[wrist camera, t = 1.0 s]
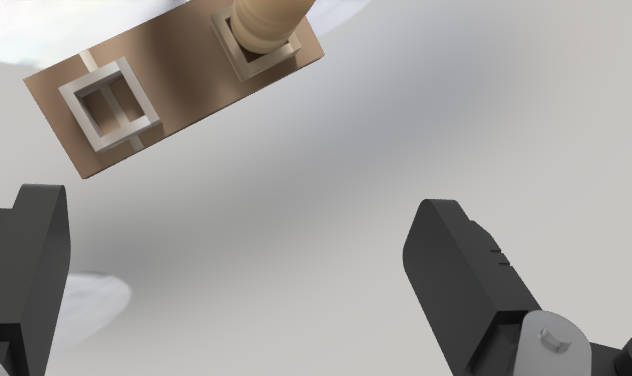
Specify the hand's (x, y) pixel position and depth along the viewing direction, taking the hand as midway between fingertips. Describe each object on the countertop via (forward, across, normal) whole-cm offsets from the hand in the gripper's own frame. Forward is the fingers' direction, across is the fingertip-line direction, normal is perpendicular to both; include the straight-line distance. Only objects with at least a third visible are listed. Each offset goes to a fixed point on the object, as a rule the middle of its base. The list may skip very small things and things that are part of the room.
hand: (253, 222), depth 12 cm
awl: (+25, -3, +5) cm, 26 cm away
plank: (+26, +1, +8) cm, 27 cm away
